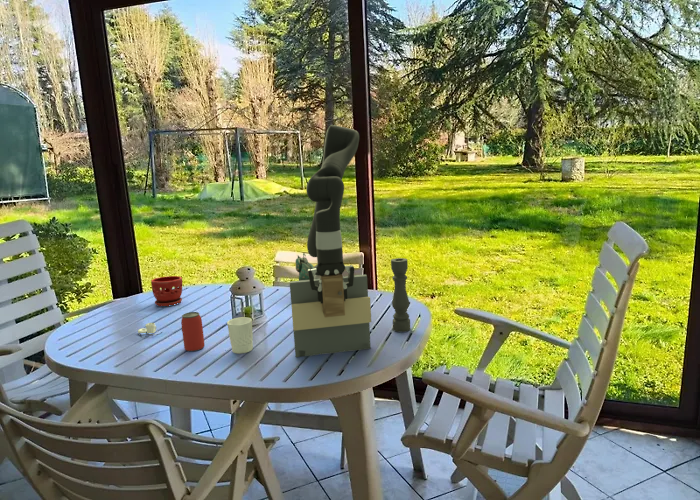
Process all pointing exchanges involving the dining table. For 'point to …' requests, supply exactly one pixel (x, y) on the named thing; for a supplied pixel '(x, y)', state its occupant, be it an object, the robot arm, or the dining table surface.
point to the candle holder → (400, 295)
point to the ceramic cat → (303, 267)
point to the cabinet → (333, 295)
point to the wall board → (330, 320)
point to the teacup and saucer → (148, 328)
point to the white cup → (241, 334)
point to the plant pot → (167, 290)
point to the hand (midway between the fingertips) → (332, 301)
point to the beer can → (192, 331)
